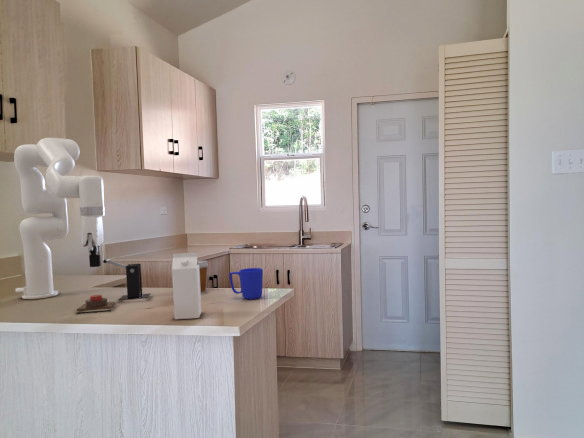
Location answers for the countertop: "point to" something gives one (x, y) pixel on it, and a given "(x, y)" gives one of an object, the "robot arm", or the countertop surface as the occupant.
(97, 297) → the button
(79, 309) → the button block
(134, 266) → the black lever base
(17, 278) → the countertop surface
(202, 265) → the disposable coffee cup
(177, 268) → the milk carton
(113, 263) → the lever
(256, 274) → the mug
